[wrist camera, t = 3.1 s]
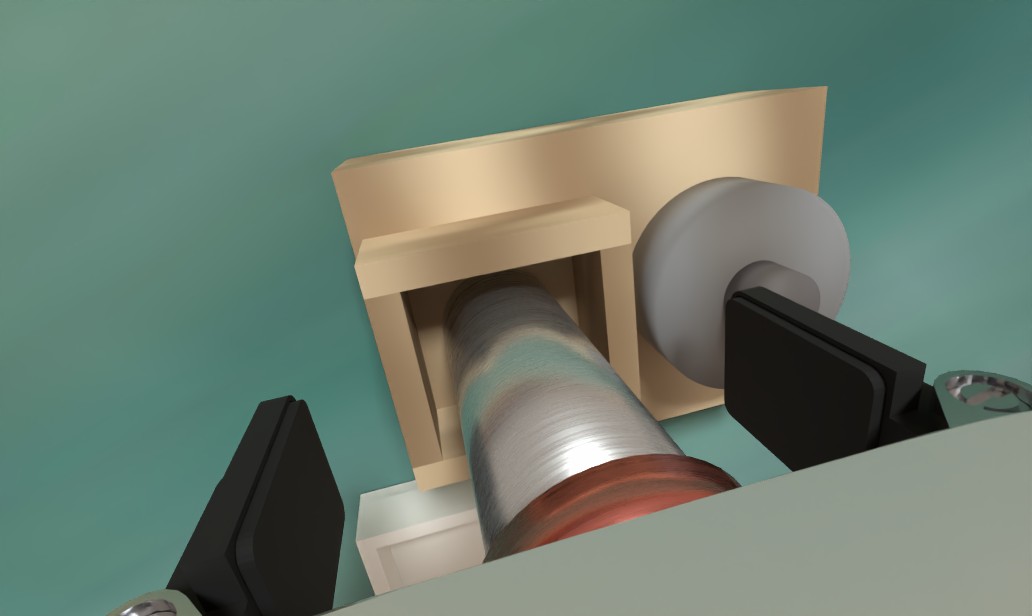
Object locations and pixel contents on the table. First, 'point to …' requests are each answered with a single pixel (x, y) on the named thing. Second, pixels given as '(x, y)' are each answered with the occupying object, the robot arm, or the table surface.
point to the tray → (418, 533)
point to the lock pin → (553, 422)
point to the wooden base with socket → (596, 243)
